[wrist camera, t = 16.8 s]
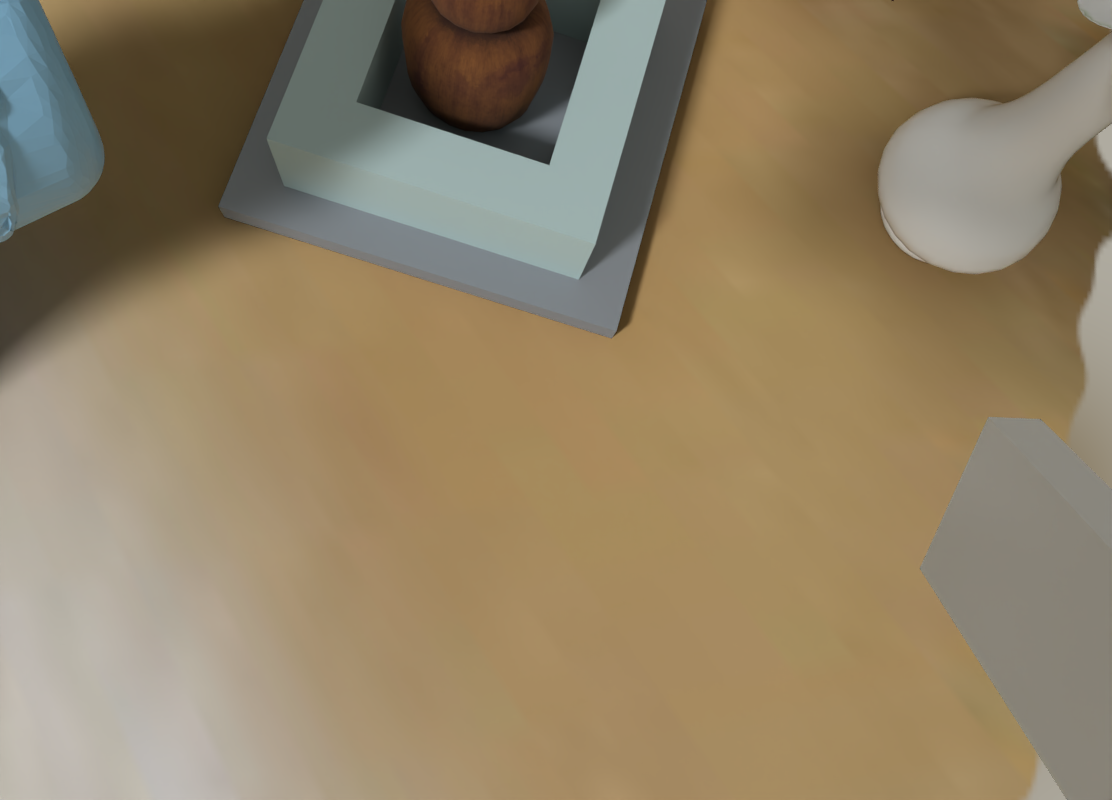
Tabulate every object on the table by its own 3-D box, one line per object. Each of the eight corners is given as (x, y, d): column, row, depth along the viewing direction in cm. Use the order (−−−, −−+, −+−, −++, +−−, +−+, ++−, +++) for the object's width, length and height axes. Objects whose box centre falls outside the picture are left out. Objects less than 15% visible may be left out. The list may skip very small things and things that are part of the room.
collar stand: (224, 216, 42) (192, 160, 36) (356, -105, 47) (346, -198, 41) (611, 338, 43) (637, 301, 38) (700, 14, 48) (735, -61, 43)
